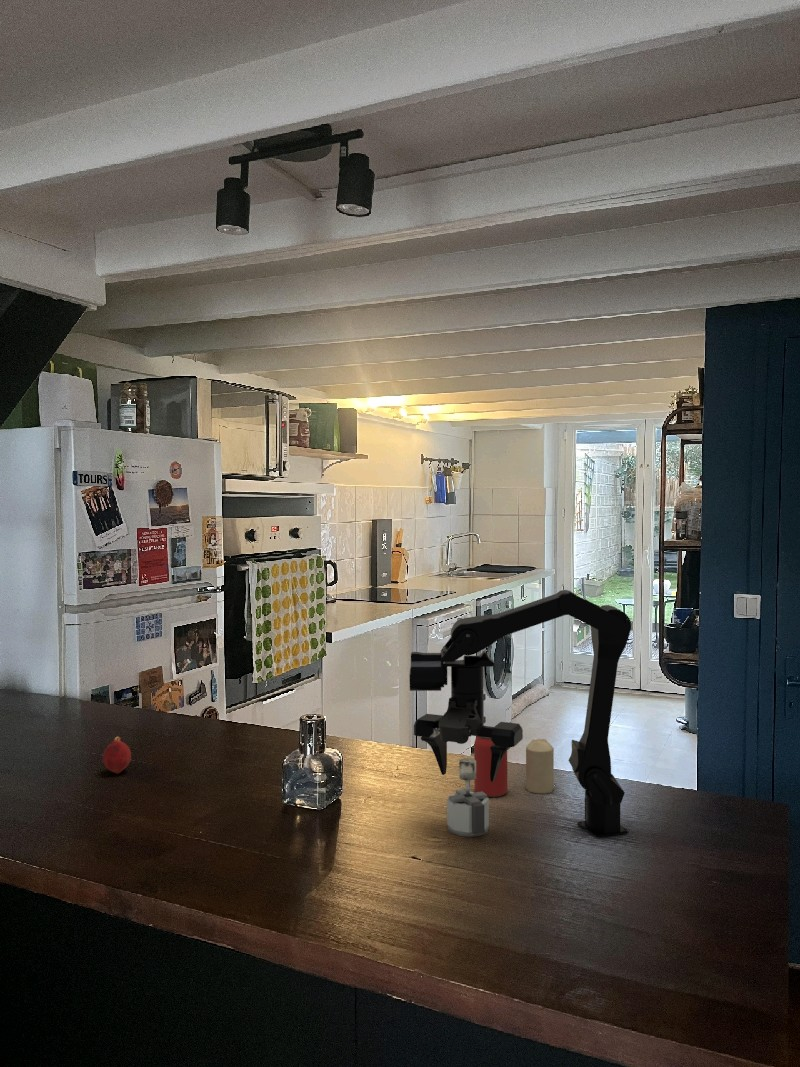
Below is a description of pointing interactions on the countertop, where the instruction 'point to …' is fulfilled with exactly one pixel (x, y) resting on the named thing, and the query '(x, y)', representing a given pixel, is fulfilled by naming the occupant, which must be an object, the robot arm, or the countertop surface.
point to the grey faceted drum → (468, 814)
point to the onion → (117, 756)
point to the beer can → (488, 769)
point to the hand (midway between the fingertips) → (467, 777)
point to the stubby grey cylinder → (467, 774)
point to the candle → (539, 766)
